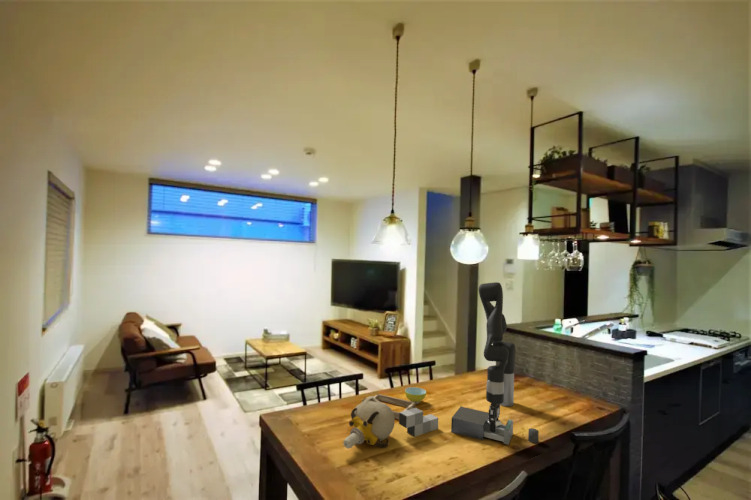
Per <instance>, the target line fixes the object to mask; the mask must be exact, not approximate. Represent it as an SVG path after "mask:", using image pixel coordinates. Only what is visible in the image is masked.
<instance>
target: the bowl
mask: <svg viewBox="0 0 751 500" xmlns="http://www.w3.org/2000/svg"><path fill="white" fill-rule="evenodd" d="M404 393H405V397H406V398H407V399H408V401H411V402H415V405H418V404H420V402H422V401H423V400H424V399H425V398H426V395H427V391H426V389H424V388H422V387H416V386H415V387H413V386H411V387H406V388H405V389H404Z"/></svg>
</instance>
